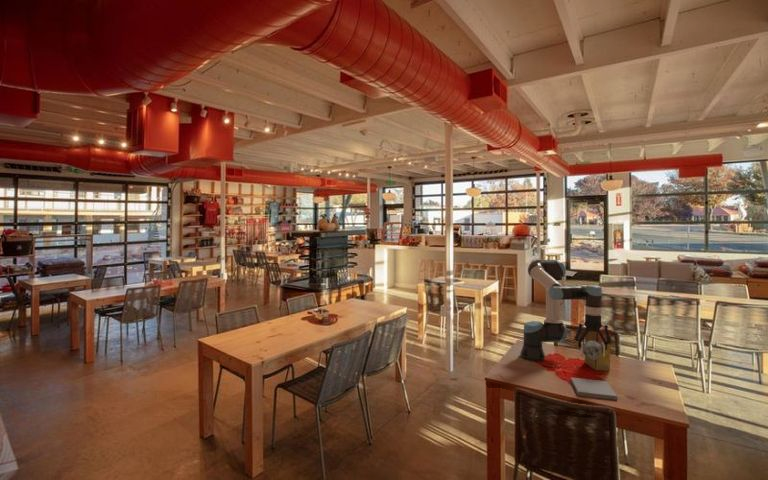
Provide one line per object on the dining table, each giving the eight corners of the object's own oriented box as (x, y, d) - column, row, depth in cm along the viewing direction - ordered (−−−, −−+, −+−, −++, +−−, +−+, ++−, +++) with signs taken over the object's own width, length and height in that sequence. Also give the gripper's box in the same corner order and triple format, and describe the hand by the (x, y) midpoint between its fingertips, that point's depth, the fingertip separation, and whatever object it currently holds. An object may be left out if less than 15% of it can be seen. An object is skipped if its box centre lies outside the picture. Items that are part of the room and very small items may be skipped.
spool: (603, 357, 192) (594, 338, 196) (584, 362, 197) (576, 343, 201) (608, 356, 202) (600, 338, 206) (590, 361, 207) (582, 343, 211)
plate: (578, 395, 194) (578, 391, 194) (570, 380, 211) (570, 377, 211) (617, 399, 189) (617, 396, 189) (606, 384, 206) (606, 381, 206)
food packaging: (610, 370, 225) (612, 330, 223) (595, 370, 225) (596, 330, 224) (598, 362, 238) (599, 323, 237) (583, 362, 238) (584, 323, 237)
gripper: (571, 314, 200) (570, 355, 201) (619, 317, 194) (618, 359, 195) (568, 311, 207) (568, 350, 208) (614, 313, 201) (613, 354, 202)
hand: (592, 354), depth 201 cm, fingers closed on spool, 10 cm apart
